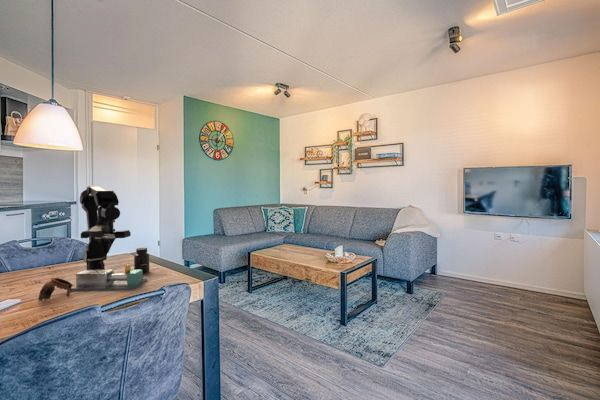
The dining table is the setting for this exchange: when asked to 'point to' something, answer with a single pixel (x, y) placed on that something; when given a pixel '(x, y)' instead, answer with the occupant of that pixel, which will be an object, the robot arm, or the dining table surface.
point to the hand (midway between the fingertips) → (106, 253)
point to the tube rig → (98, 281)
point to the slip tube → (119, 275)
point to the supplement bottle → (141, 260)
